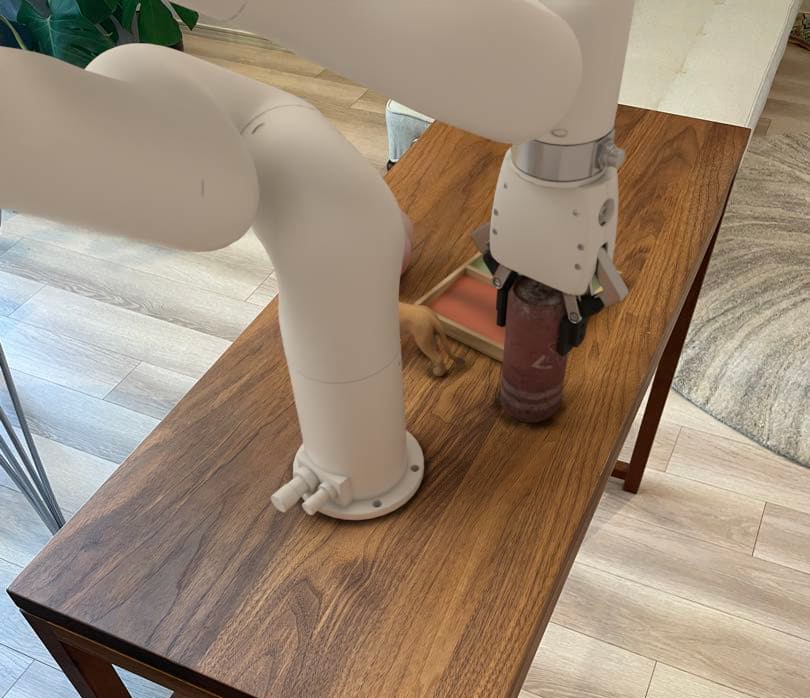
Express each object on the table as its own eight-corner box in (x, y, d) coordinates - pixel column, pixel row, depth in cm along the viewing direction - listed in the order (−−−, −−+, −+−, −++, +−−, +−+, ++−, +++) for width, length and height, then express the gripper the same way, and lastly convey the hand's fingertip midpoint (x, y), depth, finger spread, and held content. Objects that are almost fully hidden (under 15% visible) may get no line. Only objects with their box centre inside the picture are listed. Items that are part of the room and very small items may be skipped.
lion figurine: (329, 358, 91) (319, 289, 83) (346, 328, 94) (337, 258, 86) (459, 382, 87) (460, 312, 80) (472, 350, 90) (474, 279, 83)
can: (559, 382, 87) (576, 266, 76) (560, 426, 83) (578, 309, 72) (500, 380, 87) (509, 264, 76) (499, 423, 83) (507, 307, 72)
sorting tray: (526, 374, 88) (527, 361, 86) (412, 318, 94) (411, 305, 93) (620, 285, 96) (622, 271, 95) (509, 239, 103) (510, 226, 101)
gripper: (686, 159, 62) (639, 349, 76) (497, 95, 69) (487, 280, 83) (634, 203, 58) (596, 394, 73) (441, 131, 65) (441, 318, 80)
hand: (538, 331), depth 78 cm, fingers closed on can, 6 cm apart
